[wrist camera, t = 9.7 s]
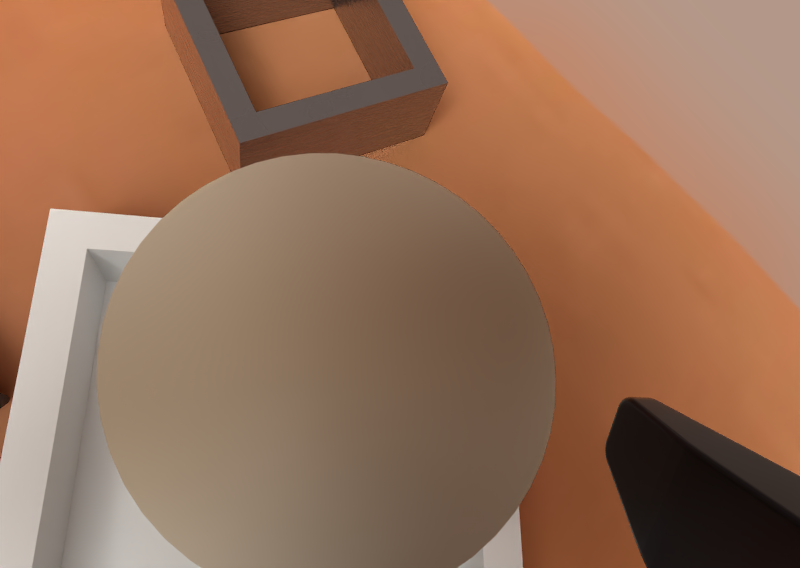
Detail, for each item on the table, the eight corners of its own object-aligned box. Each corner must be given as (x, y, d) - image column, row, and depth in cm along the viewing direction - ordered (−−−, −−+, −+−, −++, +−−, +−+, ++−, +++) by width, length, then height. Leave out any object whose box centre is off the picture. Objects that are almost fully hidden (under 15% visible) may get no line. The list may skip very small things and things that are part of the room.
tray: (488, 701, 17) (533, 736, 15) (-6, 735, 15) (-64, 784, 12) (469, 281, 21) (502, 246, 19) (79, 253, 19) (50, 208, 16)
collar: (423, 134, 23) (447, 82, 20) (240, 193, 21) (239, 143, 18) (344, -14, 24) (356, -81, 22) (165, 25, 22) (153, -45, 19)
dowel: (372, 503, 18) (632, 464, 6) (232, 577, 16) (206, 717, 5) (313, 372, 19) (437, 108, 7) (175, 432, 17) (28, 230, 5)
